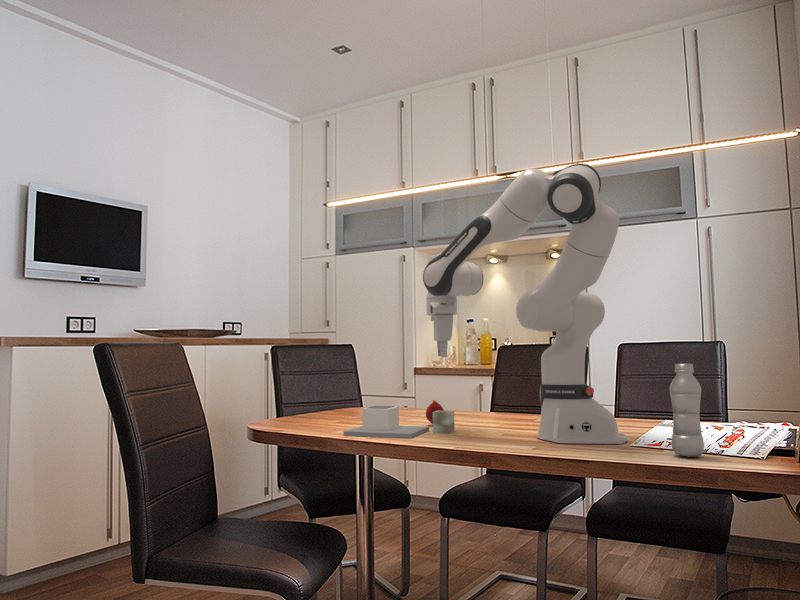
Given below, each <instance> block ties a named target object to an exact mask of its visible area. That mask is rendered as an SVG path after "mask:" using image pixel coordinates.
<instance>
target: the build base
mask: <svg viewBox="0 0 800 600" xmlns="http://www.w3.org/2000/svg"><path fill="white" fill-rule="evenodd" d="M361 413H362V414H361V416H362V421H361V422H362V423H361V424H362V425H360V426H357V427H354V428H353V427H352V428H350V429H346V430H344V431H343V436H344V437H364V438H365V437H366V438H385V439H387V438H389V439H390V438H391V439H414V438H415V437H419V436H420V435H424V434H426V433H427V432H430V426H419V425H418V426H417V425H400V421H399V420H400V410H399V406H394V405H372V406H367V407H364V408H363V407H362V409H361Z"/></svg>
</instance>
